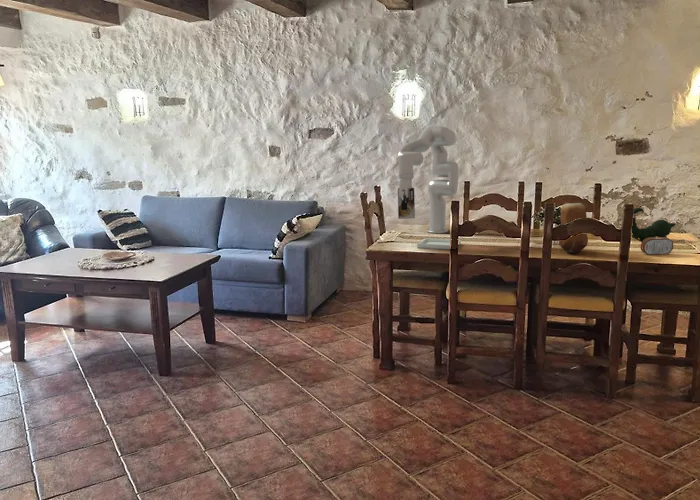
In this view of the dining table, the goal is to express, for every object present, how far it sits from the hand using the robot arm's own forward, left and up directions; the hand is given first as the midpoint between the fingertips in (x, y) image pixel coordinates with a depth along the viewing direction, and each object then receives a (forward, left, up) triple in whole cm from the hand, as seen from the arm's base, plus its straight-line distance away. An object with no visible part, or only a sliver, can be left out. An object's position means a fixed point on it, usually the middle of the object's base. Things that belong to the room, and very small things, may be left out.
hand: (406, 208), depth 310 cm
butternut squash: (0, +85, -20) cm, 87 cm away
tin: (-6, +123, -20) cm, 125 cm away
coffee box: (0, 0, -5) cm, 5 cm away
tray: (0, +18, -20) cm, 27 cm away
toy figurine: (-42, +124, -20) cm, 133 cm away
